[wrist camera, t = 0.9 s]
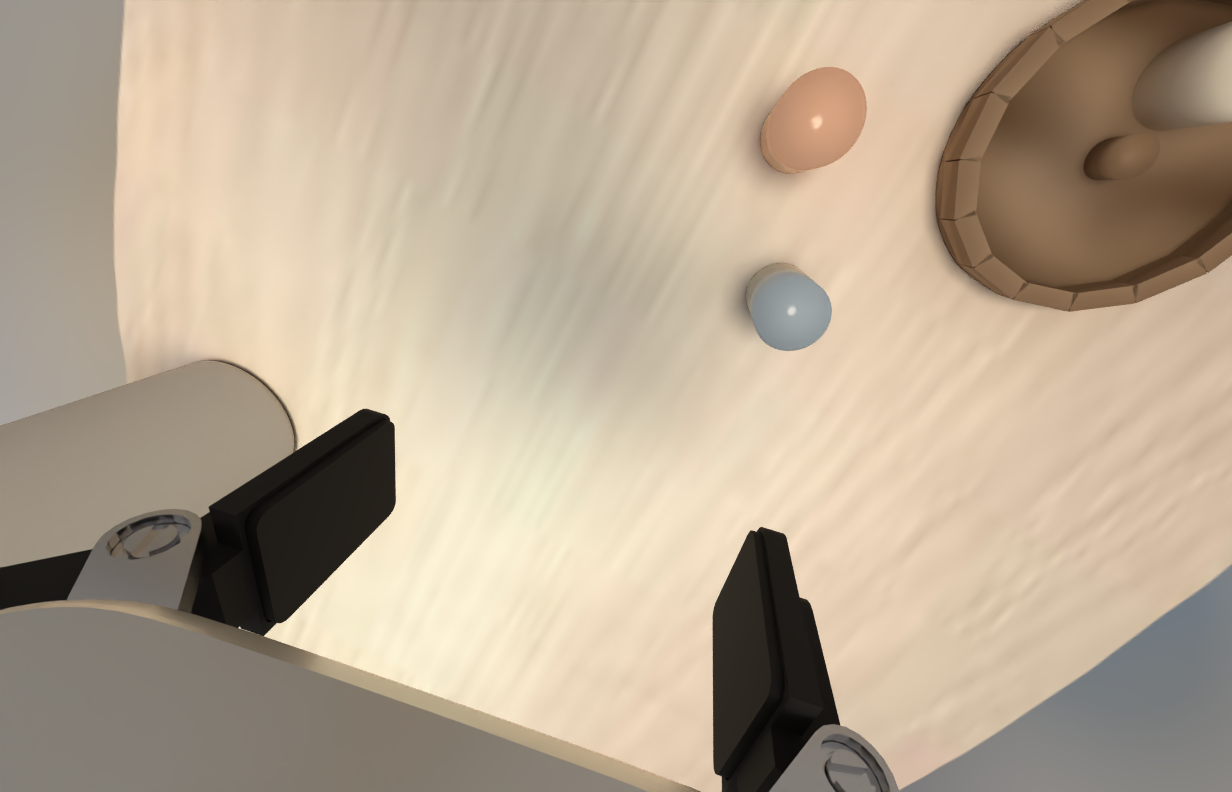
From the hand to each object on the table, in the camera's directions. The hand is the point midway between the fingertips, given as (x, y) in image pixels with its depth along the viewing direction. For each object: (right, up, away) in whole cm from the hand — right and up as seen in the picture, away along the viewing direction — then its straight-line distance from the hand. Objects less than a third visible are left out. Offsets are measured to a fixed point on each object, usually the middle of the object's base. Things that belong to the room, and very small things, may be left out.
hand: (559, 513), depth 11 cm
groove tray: (+27, +16, +13) cm, 34 cm away
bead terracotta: (+12, +18, +15) cm, 26 cm away
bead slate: (+12, +10, +18) cm, 24 cm away
